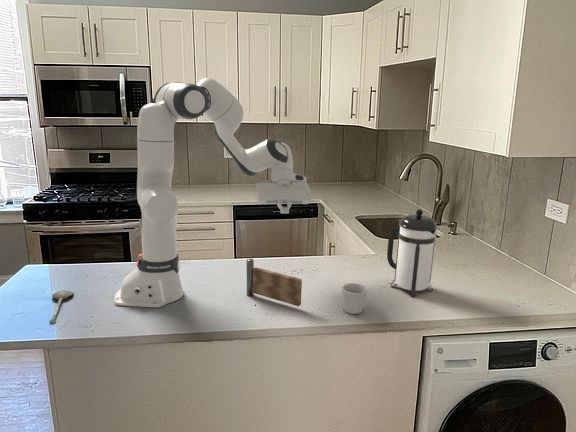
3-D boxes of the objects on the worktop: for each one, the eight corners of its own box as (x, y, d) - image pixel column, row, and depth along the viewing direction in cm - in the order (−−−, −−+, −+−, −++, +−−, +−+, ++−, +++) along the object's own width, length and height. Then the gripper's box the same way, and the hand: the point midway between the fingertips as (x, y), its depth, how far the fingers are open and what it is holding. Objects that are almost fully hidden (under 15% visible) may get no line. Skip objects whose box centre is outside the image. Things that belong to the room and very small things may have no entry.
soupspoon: (76, 294, 152) (55, 297, 150) (74, 285, 151) (53, 288, 149) (64, 322, 131) (40, 326, 130) (62, 312, 131) (38, 316, 129)
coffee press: (431, 282, 166) (440, 205, 158) (433, 300, 151) (443, 216, 143) (385, 276, 170) (391, 201, 162) (382, 293, 155) (389, 212, 147)
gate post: (246, 296, 150) (246, 261, 147) (246, 293, 153) (246, 258, 149) (253, 296, 151) (253, 261, 147) (253, 293, 153) (253, 258, 150)
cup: (353, 300, 150) (354, 278, 148) (374, 307, 145) (375, 285, 143) (336, 311, 142) (337, 288, 140) (357, 319, 137) (359, 295, 135)
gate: (253, 293, 150) (253, 268, 147) (255, 291, 151) (255, 267, 149) (298, 306, 141) (299, 280, 139) (301, 304, 142) (301, 279, 140)
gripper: (256, 176, 162) (256, 208, 156) (310, 177, 165) (313, 208, 158) (255, 185, 168) (256, 216, 161) (307, 186, 170) (310, 217, 163)
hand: (284, 212), depth 160 cm, fingers closed
